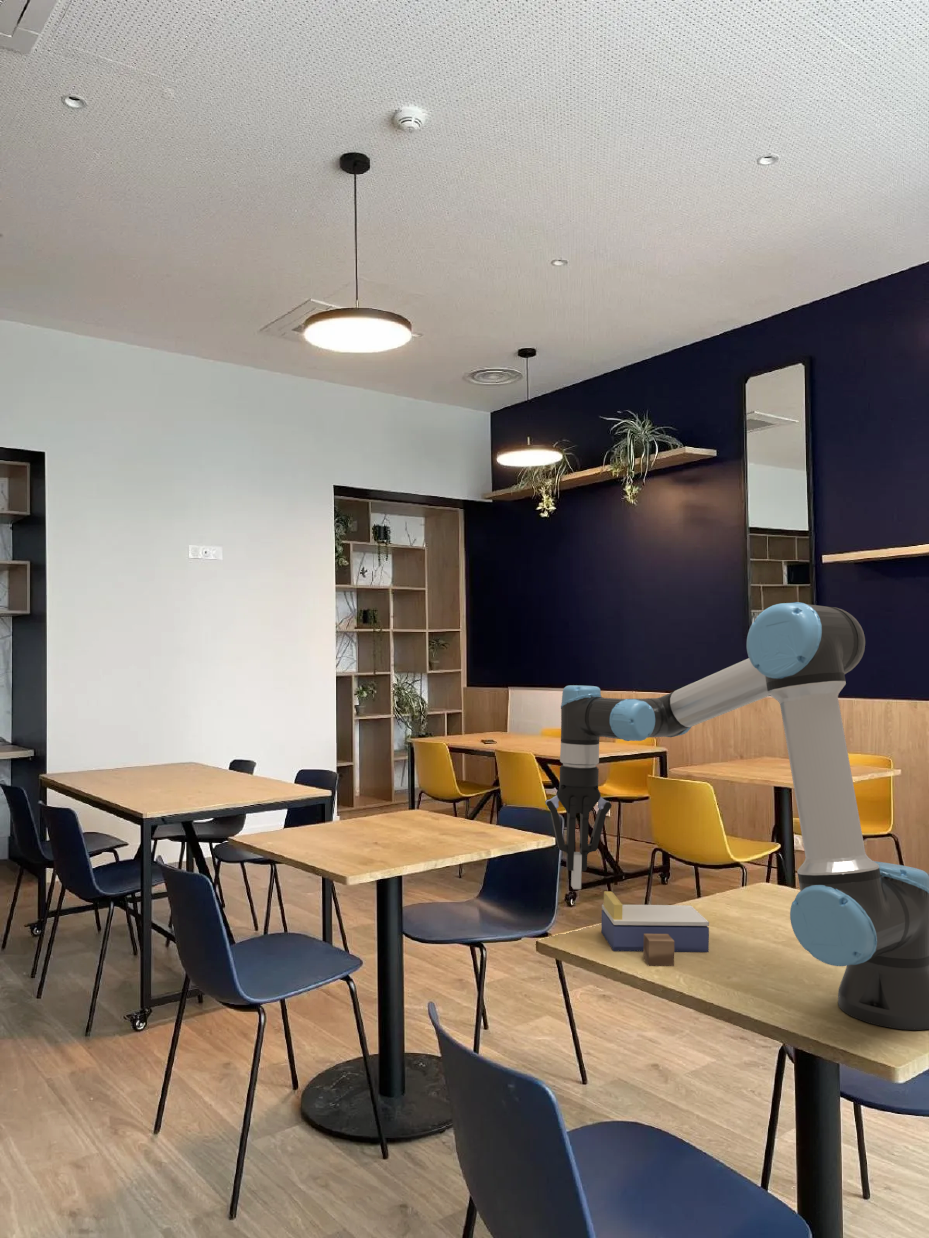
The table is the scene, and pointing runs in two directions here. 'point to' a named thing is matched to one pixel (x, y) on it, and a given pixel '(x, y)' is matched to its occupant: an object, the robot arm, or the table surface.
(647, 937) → the block
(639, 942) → the blue tray
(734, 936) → the table surface
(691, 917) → the lid
